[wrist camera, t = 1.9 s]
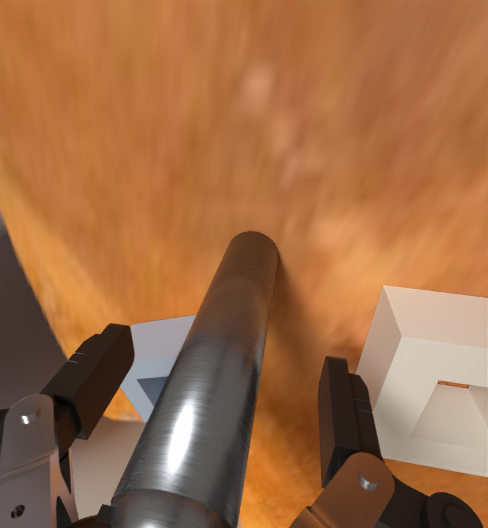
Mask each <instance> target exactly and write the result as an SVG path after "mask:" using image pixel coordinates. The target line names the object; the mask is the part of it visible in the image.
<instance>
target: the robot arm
mask: <svg viewBox="0 0 488 528" xmlns="http://www.w3.org/2000/svg"><path fill="white" fill-rule="evenodd" d="M134 358H135V351H134V345H133V339H132V333H131V328H130V327H129V326H127V325H120V324H113V323H110V324H109V325H108V326H107V327H106V328H105V329H104V331H103V332H102V333H101V334H95V335H93V336H92V337H90V338H89V339H87V340H86V341H84V342H83V343H82V344H81V345H80V347H79V348H78V349H77V350H76V351H75V354H73V355H72V356H71V357H70V358H69V360H68V362H66V363H65V364H64V366H63V367H62V368H61V369H60V370H59V371H58V373H57V374H56V375H55V376H54V377H53V378H52V380H51V381H50V382H49V383H48V384H47V385H46V387H45V388H44V389H43V390H42V391H41V392H40V393H39V394H37V395H32V396H29V397H26V398H24V399H22V400H20V401H19V402H18V403H16V404H15V405H14V406H13V407H12V408H10V409H2V410H0V528H111V527H110V522H111V514H112V510H113V506H108V505H104V504H102V506H101V508H100V510H99V513H98V514H97V515H94V516H90V517H86V518H83V519H80V520H79V517H78V512H77V508H76V504H75V495H74V482H73V467H72V452H71V448H70V447H71V445H72V443H73V442H74V440H75V439H76V438H78V439H83V440H88V438H89V436H90V435H91V433H92V431H93V430H94V428H95V426H96V425H97V423H98V421H99V420H100V418H101V417H102V415H103V413H104V412H105V410H106V408H107V407H108V405H109V403H110V402H111V400H112V398H113V397H114V395H115V394H116V392H117V390H118V389H119V387H120V385H121V384H122V382H123V380H124V379H125V377H126V375H127V374H128V372H129V370H130V369H131V367H132V365H133V362H134ZM318 407H319V431H320V454H321V478H322V488H325V489H324V490H323V491H322V493H321V494H320V495H319V497H318V498H317V499H316V501H315V502H314V503H313V504H312V505H311V506H310V507H309V506H308V507H306V508H305V509H304V510H303V511H302V512H301V513H300V514H299V515H298V517H297V518H296V519H295V520H294V522H293V523H292V524H291V526H290V527H289V528H483V525H482V523H481V521H480V520H479V518H478V516H477V515H476V514H475V512H474V511H473V510H472V509H471V508H470V507H469V506H468V505H467V504H466V503H465V502H463V501H462V500H461V499H459V498H457V497H456V496H454V495H451V494H448V493H444V492H438V493H434V494H432V495H431V496H430V497H429V496H427V495H425V494H423V493H421V492H419V491H417V490H415V489H413V488H411V487H409V486H407V485H406V484H404V483H402V482H401V481H400V480H398V479H397V478H396V477H395V476H394V475H393V474H392V473H391V472H390V470H389V469H388V467H387V466H386V465H385V463H384V461H383V458H382V455H381V451H380V446H379V441H378V436H377V431H376V426H375V422H374V417H373V414H372V407H371V403H370V397H369V392H368V387H367V386H366V384H365V383H364V381H363V380H362V378H361V377H360V375H356V374H349V372H348V366H347V360H346V359H345V358H338V357H331V356H326V357H325V361H324V365H323V369H322V374H321V378H320V382H319V390H318Z"/></svg>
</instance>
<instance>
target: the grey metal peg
mask: <svg viewBox="0 0 488 528" xmlns="http://www.w3.org/2000/svg"><path fill="white" fill-rule="evenodd" d="M278 259H279V254H278V249H277V247H276V245H275V243H274V242H273V241H272V240H271V239H270V238H269V237H268V236H266V235H264V234H262V233H259V232H254V231H249V232H243V233H240V234H238V235H237V236H235V237H234V238H233V239H232V240H231V242H230V243H229V245H228V248H227V250H226V252H225V254H224V256H223V258H222V261H221V263H220V265H219V267H218V269H217V271H216V274H215V276H214V278H213V280H212V282H211V284H210V287H209V289H208V291H207V293H206V295H205V298H204V300H203V302H202V304H201V306H200V308H199V311H198V313H197V315H196V317H195V319H194V321H193V324H192V326H191V328H190V330H189V332H188V334H187V337H186V339H185V341H184V343H183V345H182V347H181V350H180V352H179V354H178V356H177V358H176V360H175V363H174V365H173V367H172V369H171V371H170V374H169V376H168V378H167V380H166V382H165V384H164V387H163V389H162V391H161V393H160V395H159V397H158V400H157V402H156V404H155V406H154V408H153V410H152V413H151V415H150V417H149V419H148V421H147V423H146V426H145V428H144V430H143V432H142V434H141V437H140V439H139V441H138V443H137V445H136V447H135V450H134V452H133V454H132V456H131V458H130V460H129V463H128V465H127V467H126V469H125V471H124V474H123V476H122V478H121V480H120V482H119V484H118V486H117V489H116V491H115V493H114V495H113V497H112V500H111V506H113V510H112V514H111V522H110V527H111V528H237V526H238V519H239V513H240V506H241V500H242V493H243V487H244V480H245V474H246V467H247V461H248V454H249V448H250V441H251V435H252V428H253V422H254V415H255V409H256V402H257V395H258V389H259V382H260V376H261V369H262V363H263V356H264V350H265V343H266V337H267V330H268V324H269V317H270V311H271V304H272V298H273V291H274V285H275V278H276V272H277V265H278Z"/></svg>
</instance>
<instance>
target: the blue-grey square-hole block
mask: <svg viewBox="0 0 488 528" xmlns="http://www.w3.org/2000/svg"><path fill="white" fill-rule="evenodd" d="M195 317H196V315H191V316H185V317H178V318H171V319H165V320H158V321H152V322H145V323H139V324H133V325H132V326H131V333H132V339H133V345H134V351H135V358H134V362H133V365H132V367H131V369H130V370H129V372H128V374H127V375H126V377H125V379H124V380H123V382H122V384H121V385H120V387H121V389H122V390H123V392H124V393H125V395H126V396H127V398H128V399H129V400H130V402H131V403H132V405H133V406H134V408H135V409H136V411H137V412H138V414H139V415H140V417H141V418H142V420H143V421H144V422H147V421H148V419H149V417H150V415H151V413H152V410H153V408H154V406H155V404H156V402H157V400H158V397H159V395H160V393H161V391H162V389H163V387H164V384H165V382H166V380H167V378H168V376H169V374H170V371H171V369H172V367H173V365H174V363H175V360H176V358H177V356H178V354H179V352H180V350H181V347H182V345H183V343H184V341H185V339H186V337H187V334H188V332H189V330H190V328H191V326H192V324H193V321H194V319H195Z"/></svg>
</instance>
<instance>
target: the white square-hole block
mask: <svg viewBox="0 0 488 528" xmlns="http://www.w3.org/2000/svg"><path fill="white" fill-rule="evenodd" d="M355 374H356V375H360V377H361V378H362V380H363V381H364V383H365V384H366V386H367V387H368V392H369V397H370V403H371V407H372V414H373V417H374V422H375V426H376V431H377V436H378V441H379V446H380V451H381V455H382V458H386V459H391V460H397V461H402V462H408V463H413V464H418V465H424V466H429V467H435V468H440V469H445V470H451V471H456V472H462V473H467V474H473V475H478V476H483V477H488V298H484V297H476V296H468V295H460V294H451V293H443V292H435V291H427V290H419V289H411V288H402V287H394V286H386V285H383V287H382V290H381V294H380V297H379V300H378V303H377V306H376V309H375V313H374V316H373V319H372V322H371V325H370V329H369V332H368V335H367V338H366V341H365V344H364V348H363V351H362V354H361V357H360V360H359V364H358V367H357V370H356V373H355ZM439 380H442V381H448V382H455V383H462V384H468V385H469V387H468V389H467V388H460V387H454V386H447V385H441V384H437V383H438V381H439Z"/></svg>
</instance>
